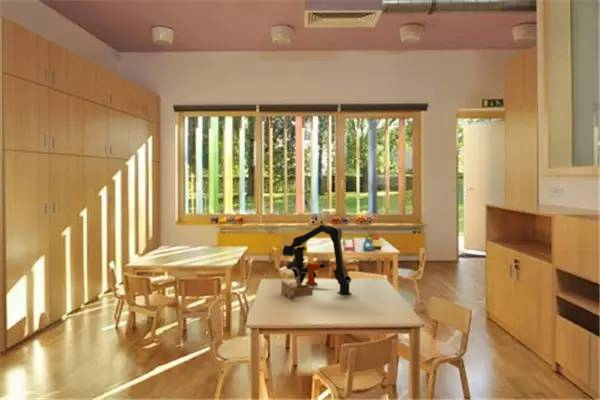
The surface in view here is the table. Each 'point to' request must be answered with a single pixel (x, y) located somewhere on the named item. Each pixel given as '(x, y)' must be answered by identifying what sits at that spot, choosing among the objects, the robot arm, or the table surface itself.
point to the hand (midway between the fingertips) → (298, 281)
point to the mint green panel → (298, 281)
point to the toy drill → (311, 272)
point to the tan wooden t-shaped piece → (295, 290)
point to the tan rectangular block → (293, 285)
